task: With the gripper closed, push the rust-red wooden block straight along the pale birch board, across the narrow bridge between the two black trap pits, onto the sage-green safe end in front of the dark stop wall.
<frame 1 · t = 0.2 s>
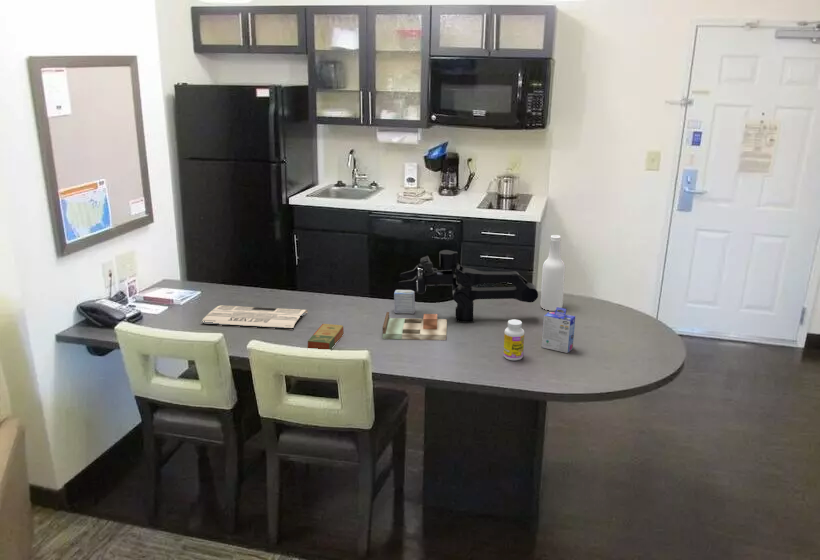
hand: (399, 279, 256), 16 cm above the counter, tool horizontal, fingers open, 9 cm apart
carton: (326, 343, 241), on the counter
medicine box: (404, 312, 268), on the counter
alcohol: (551, 308, 271), on the counter
ink cartridge box: (557, 348, 234), on the counter
block: (430, 326, 248), point 2 cm above the counter, touching trap board
newspaper: (255, 321, 262), on the counter
supplement bottle: (513, 357, 228), on the counter
trap board: (415, 331, 249), on the counter
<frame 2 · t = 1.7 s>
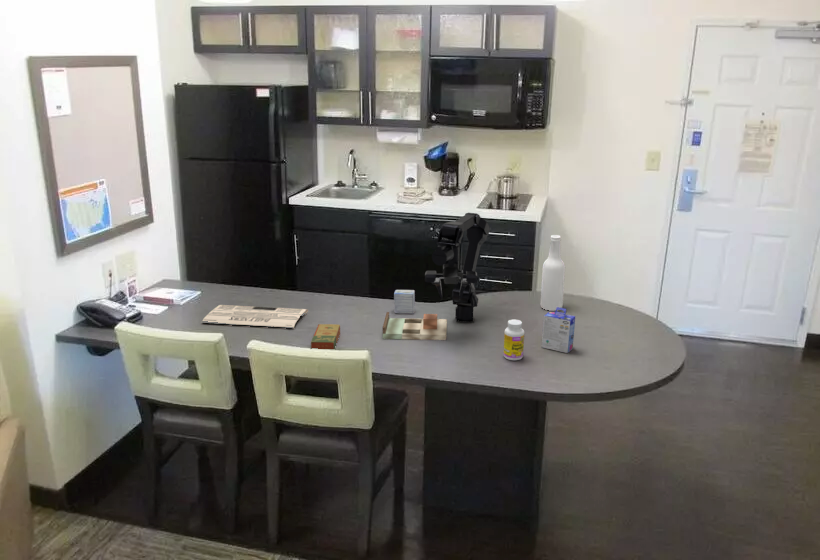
hand: (450, 299, 244), 13 cm above the counter, tool pointing down, fingers open, 6 cm apart
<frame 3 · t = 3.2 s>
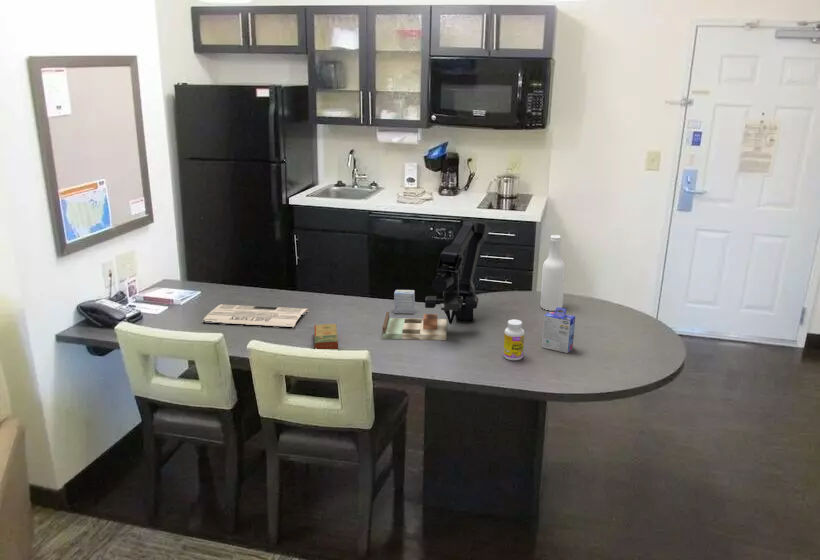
hand: (450, 323, 248), 3 cm above the counter, tool pointing down, fingers closed
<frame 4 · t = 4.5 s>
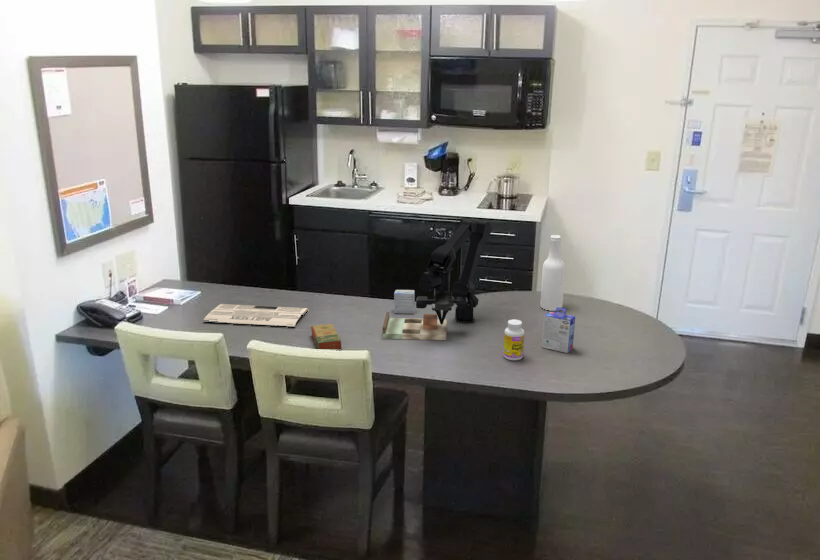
hand: (441, 324, 248), 3 cm above the counter, tool pointing down, fingers closed
block: (430, 326, 248), point 2 cm above the counter, touching gripper
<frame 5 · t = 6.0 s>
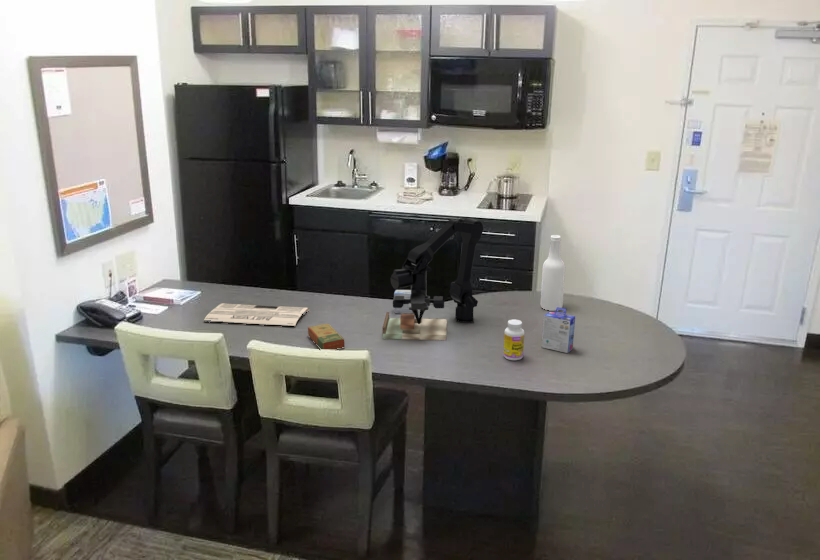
hand: (418, 323, 248), 3 cm above the counter, tool pointing down, fingers closed
block: (407, 326, 249), point 2 cm above the counter, touching gripper
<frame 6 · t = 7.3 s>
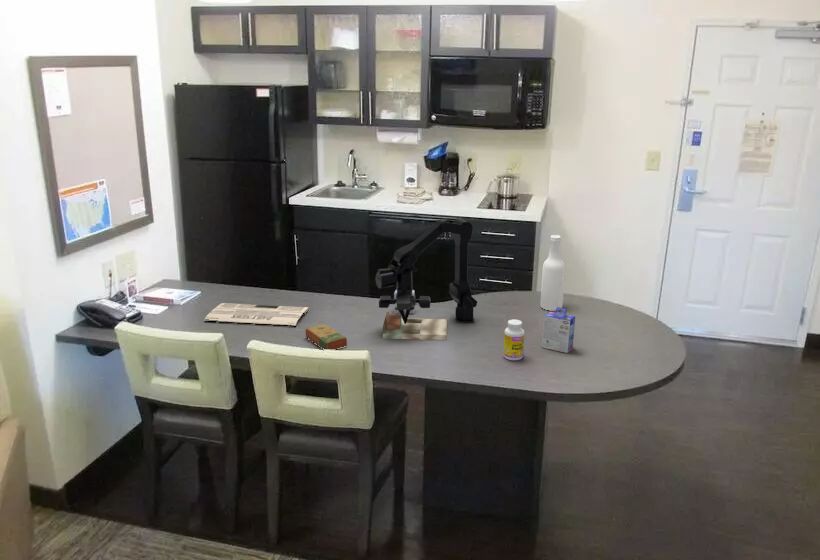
hand: (405, 323, 249), 3 cm above the counter, tool pointing down, fingers closed
block: (394, 326, 249), point 2 cm above the counter, touching gripper, trap board
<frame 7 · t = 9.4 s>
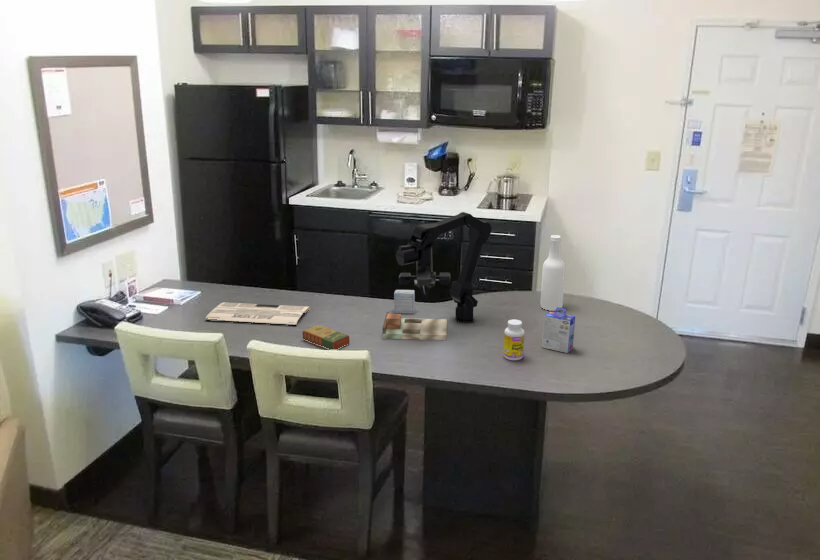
hand: (425, 300, 247), 12 cm above the counter, tool pointing down, fingers closed
block: (394, 326, 249), point 2 cm above the counter, touching trap board
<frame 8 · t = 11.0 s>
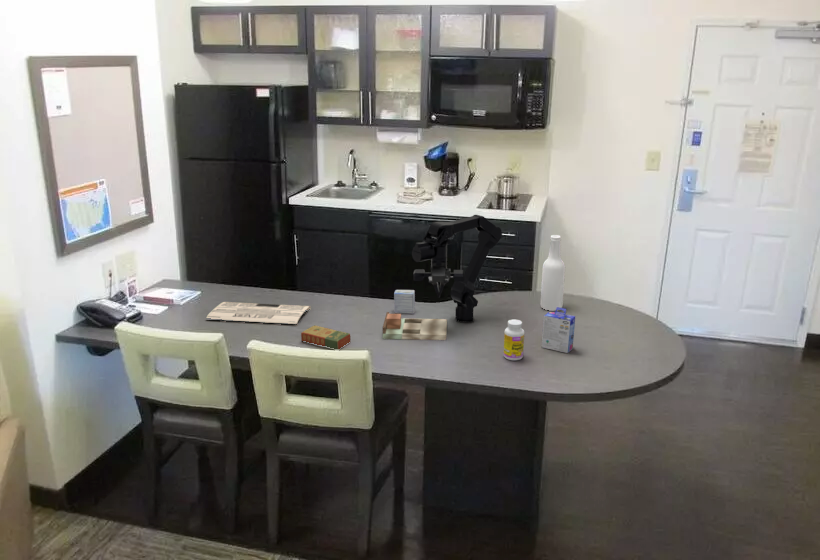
hand: (438, 297, 249), 12 cm above the counter, tool pointing down, fingers closed
at the end: block 0.3 cm from the target spot, point 2.0 cm above the counter; block tilted 0° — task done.
